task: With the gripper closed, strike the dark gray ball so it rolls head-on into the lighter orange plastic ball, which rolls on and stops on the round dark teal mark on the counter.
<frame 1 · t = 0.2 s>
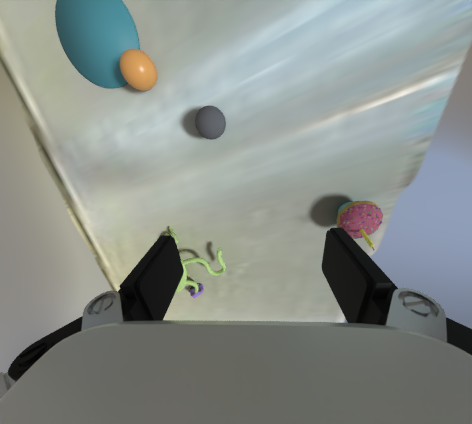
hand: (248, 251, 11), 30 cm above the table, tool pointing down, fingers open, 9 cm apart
object ball: (139, 70, 29), on the table
cupcake: (347, 209, 41), on the table
figurine: (187, 261, 53), on the table
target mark: (99, 38, 30), on the table
dark gray ball: (210, 123, 32), on the table
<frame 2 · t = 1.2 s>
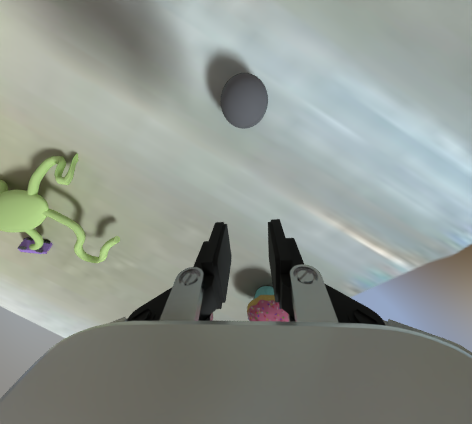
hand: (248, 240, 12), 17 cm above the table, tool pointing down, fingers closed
cupcake: (266, 292, 39), on the table
figurine: (58, 207, 33), on the table
dark gray ball: (244, 102, 21), on the table
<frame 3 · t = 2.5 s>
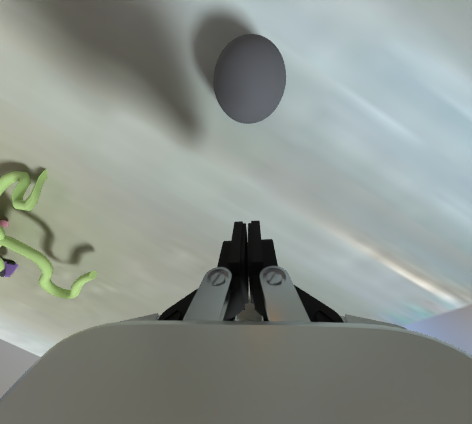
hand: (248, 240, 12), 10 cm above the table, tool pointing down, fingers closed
figurine: (25, 226, 27), on the table
dark gray ball: (249, 84, 14), on the table
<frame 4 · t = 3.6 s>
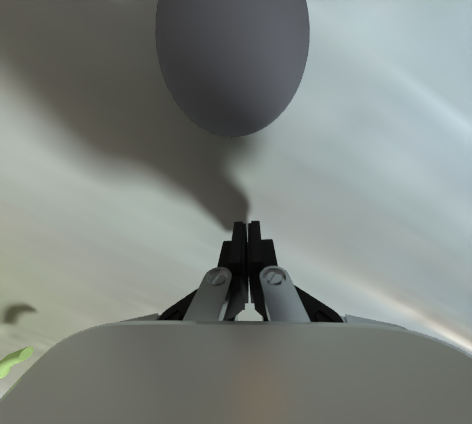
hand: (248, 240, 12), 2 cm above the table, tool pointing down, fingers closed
dark gray ball: (233, 59, 7), on the table
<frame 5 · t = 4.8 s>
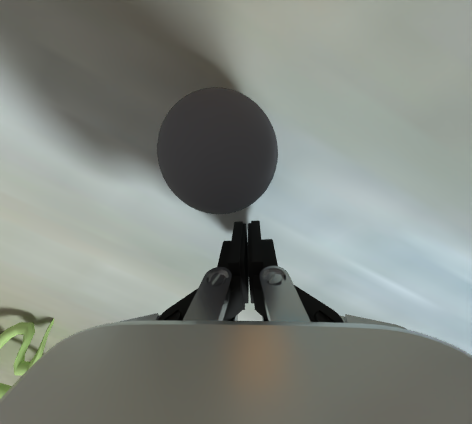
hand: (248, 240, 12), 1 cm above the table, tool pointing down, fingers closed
figurine: (15, 342, 25), on the table
dark gray ball: (219, 157, 8), on the table
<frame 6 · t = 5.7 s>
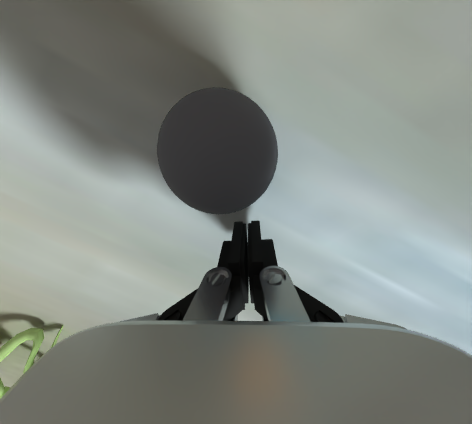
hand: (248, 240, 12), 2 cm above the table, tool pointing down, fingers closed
figurine: (18, 345, 26), on the table
dark gray ball: (219, 157, 8), on the table
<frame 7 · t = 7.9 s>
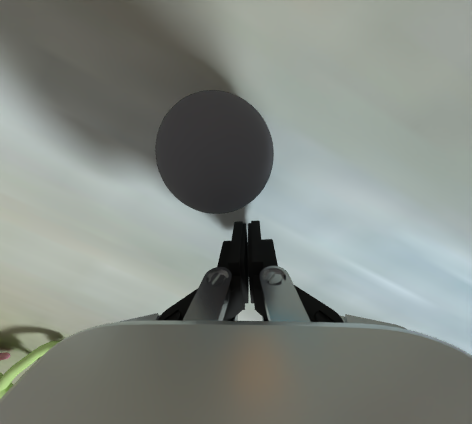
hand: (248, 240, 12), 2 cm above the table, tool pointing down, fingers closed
figurine: (26, 351, 26), on the table
dark gray ball: (216, 158, 9), on the table
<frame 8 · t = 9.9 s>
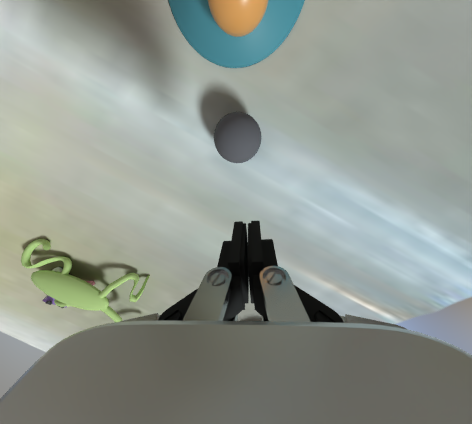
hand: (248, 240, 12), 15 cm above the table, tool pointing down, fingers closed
figurine: (101, 283, 39), on the table
dark gray ball: (237, 138, 21), on the table
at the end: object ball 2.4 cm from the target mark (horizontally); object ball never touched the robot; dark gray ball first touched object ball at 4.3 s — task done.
